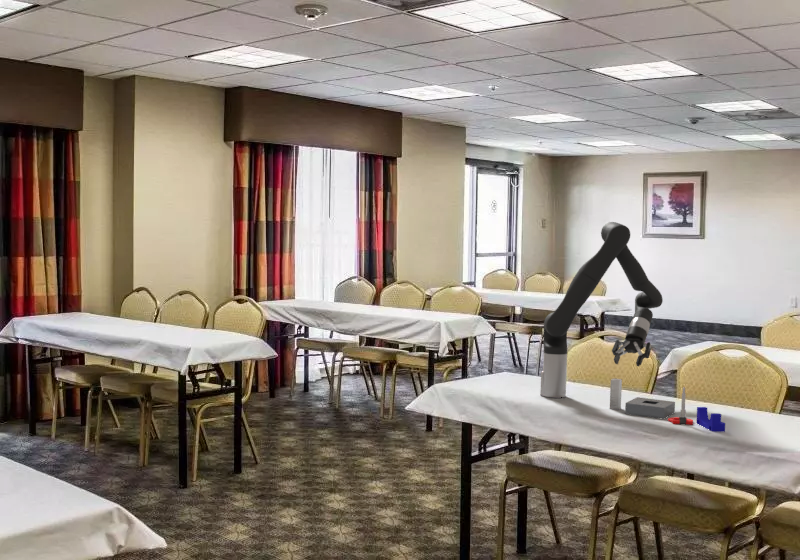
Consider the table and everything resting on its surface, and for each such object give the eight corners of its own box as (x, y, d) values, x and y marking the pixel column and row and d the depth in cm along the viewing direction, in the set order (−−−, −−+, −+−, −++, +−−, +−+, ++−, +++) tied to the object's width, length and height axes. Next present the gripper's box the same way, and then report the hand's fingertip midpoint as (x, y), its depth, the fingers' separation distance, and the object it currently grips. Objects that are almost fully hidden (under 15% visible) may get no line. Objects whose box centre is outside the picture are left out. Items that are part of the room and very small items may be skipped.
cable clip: (724, 432, 290) (725, 414, 290) (711, 432, 290) (712, 414, 290) (708, 424, 302) (709, 407, 302) (696, 424, 302) (697, 407, 301)
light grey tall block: (609, 408, 324) (610, 379, 323) (612, 407, 327) (613, 378, 326) (618, 409, 322) (619, 380, 321) (620, 408, 325) (621, 379, 324)
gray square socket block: (625, 413, 315) (625, 402, 315) (636, 407, 327) (637, 397, 327) (664, 419, 308) (664, 407, 308) (674, 412, 320) (675, 401, 319)
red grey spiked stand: (666, 419, 309) (670, 424, 300) (667, 383, 309) (671, 386, 300) (690, 421, 308) (695, 425, 299) (692, 384, 308) (697, 388, 298)
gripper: (618, 324, 343) (606, 356, 335) (653, 326, 335) (642, 359, 326) (622, 336, 348) (611, 368, 339) (658, 338, 340) (647, 371, 331)
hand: (626, 364), depth 333 cm, fingers open, 8 cm apart
